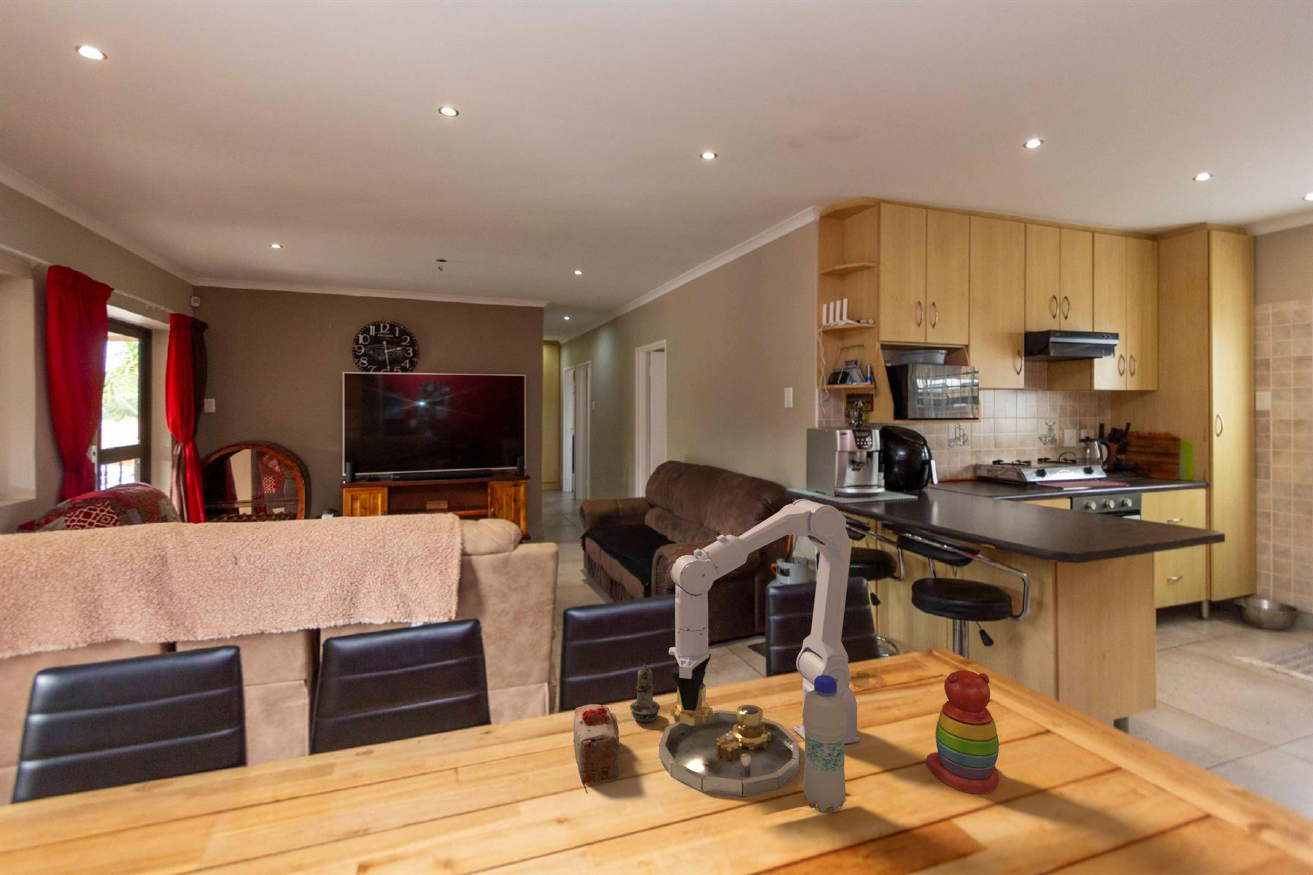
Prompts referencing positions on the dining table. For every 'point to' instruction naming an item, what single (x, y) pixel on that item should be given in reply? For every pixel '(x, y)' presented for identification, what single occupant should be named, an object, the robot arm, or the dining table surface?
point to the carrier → (731, 753)
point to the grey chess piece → (644, 698)
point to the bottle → (824, 745)
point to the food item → (596, 743)
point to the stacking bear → (966, 736)
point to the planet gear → (692, 717)
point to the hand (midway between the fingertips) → (692, 702)
